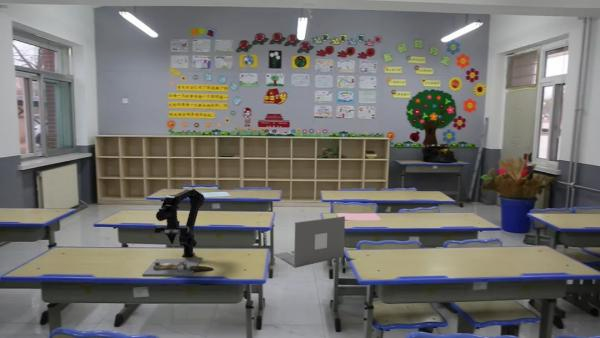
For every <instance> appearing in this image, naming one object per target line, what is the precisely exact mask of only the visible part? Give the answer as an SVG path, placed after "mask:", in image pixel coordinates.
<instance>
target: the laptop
mask: <svg viewBox="0 0 600 338" xmlns="http://www.w3.org/2000/svg"><path fill="white" fill-rule="evenodd" d="M345 219H346V216H337V217H335V216H334V217H329V218H320V219H312V220H305V221H298V222H296V221H295V222H294V251H291V252H288V251H285V252H279V253H275V254H273V256H275V257H276V258H278V259H280V260H281V261H282V262H285V263H286V264H288V265H290V266H291V267H293V268H295V269H297V268H300V267H305V266H308V265H314V264H318V263H323V262H327V261H332V260H335V259H340V258H344V255H345V229H346V227H345V224H346V220H345Z"/></svg>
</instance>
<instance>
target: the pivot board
mask: <svg viewBox="0 0 600 338" xmlns="http://www.w3.org/2000/svg"><path fill="white" fill-rule="evenodd" d="M201 260H202V258H156V259H154V260H153V262H152V263H151V264H150V265H149V266H148V268H146V269H145V271H143V273H142V277H192V276H193V275H194V273H195V272H196V270H192V269H190V266H199V264H200V262H201ZM155 262H159V263H180V262H186V263H187V267H186V268H184V271H178V268H171V269H153V264H154V263H155Z"/></svg>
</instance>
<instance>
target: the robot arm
mask: <svg viewBox="0 0 600 338" xmlns="http://www.w3.org/2000/svg"><path fill="white" fill-rule="evenodd" d="M186 199H189V204H190V208H189V213H188V217H187V220H186V223H185V224H186V225H181V227H180V221H179V220H178V210H179V209H180V207H179V205H180V204H181V202H182V201H184V200H186ZM204 202H205V196H204V194H203V193H201V192H200V191H197V189H195V188H189V187H188V188H186V189H184V190H183V191H180V192H178V193H176V194H168V195H166V196H165V198H164V200H163V202H162V205H161V207H160V208H158V211H157V212H156V214H155V219H157V221H159V222H163V221H166V227H165V226H164V225H157V226H156V227H154V233H155V234H157V233H158V234H160V233H161V232H164V235H166V237H167V238H168V240H169V242H170V244H171V245H173V244H175V243H174V242H175V241H176V237H177V235H178V241H179V244H180V246H182V247H183V254H182V255H181V257H182V258H193V257H194V255H196V253H195V252H194V248H195V247H196V246H197V245H198V244H197V243H198V242H197V240H196V239H195V233H194V228H195V224H196V220H197V217H198V213H199V210H200V208H201V207H203V205H204ZM179 233H180V234H179Z"/></svg>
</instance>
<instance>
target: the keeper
mask: <svg viewBox="0 0 600 338" xmlns="http://www.w3.org/2000/svg"><path fill="white" fill-rule="evenodd" d="M185 263H186V262H180V263H179V264H178V271H184V264H185Z"/></svg>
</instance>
